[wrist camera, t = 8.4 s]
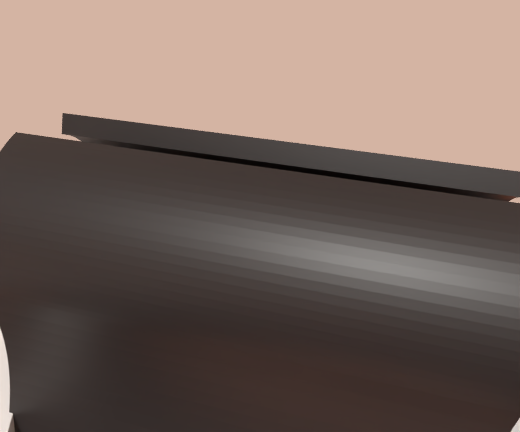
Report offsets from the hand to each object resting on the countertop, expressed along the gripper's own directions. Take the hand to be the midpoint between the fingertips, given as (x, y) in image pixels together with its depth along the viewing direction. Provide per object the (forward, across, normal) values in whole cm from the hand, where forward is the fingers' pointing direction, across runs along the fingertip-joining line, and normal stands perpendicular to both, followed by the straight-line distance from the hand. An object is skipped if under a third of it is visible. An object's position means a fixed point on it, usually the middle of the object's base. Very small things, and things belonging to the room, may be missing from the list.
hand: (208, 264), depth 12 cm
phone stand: (-5, 0, -7) cm, 9 cm away
